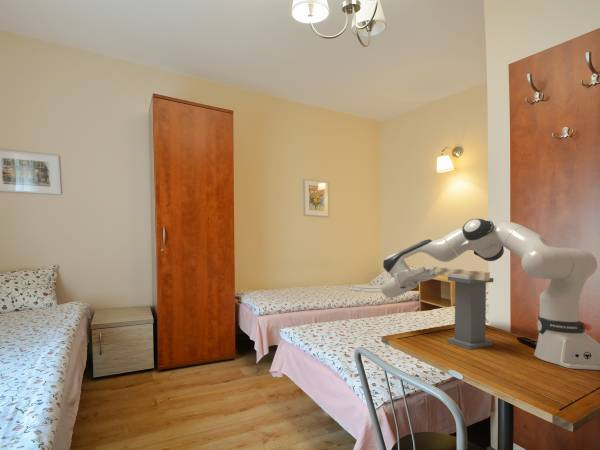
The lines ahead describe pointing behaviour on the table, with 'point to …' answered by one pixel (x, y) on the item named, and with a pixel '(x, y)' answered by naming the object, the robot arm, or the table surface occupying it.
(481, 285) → the stand
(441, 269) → the lath
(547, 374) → the table surface
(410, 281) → the robot arm
